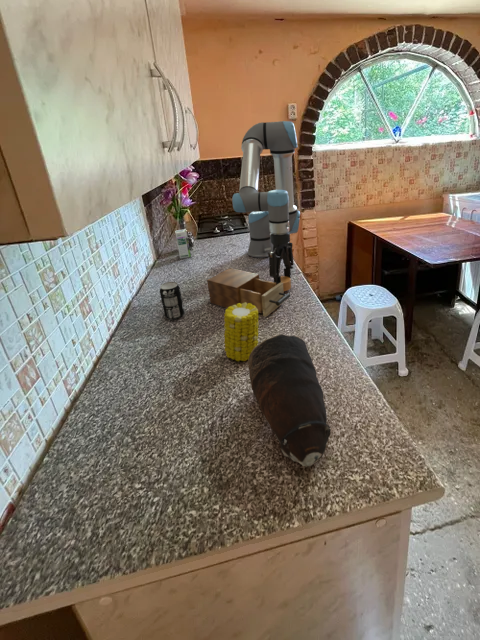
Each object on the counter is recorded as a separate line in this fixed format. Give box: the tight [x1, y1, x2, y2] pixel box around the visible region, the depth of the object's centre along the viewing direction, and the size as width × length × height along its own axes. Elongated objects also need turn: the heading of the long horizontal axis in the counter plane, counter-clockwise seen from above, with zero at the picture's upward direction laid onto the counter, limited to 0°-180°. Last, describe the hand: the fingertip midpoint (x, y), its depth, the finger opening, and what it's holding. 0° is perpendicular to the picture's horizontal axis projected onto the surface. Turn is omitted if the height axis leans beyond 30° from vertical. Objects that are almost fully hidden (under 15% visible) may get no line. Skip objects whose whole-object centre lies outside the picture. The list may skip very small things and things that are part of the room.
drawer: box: [239, 278, 291, 318], centre depth 110 cm, size 18×11×8 cm, turn 58°
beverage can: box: [159, 281, 185, 321], centre depth 108 cm, size 7×7×12 cm
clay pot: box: [247, 333, 332, 467], centre depth 64 cm, size 15×15×25 cm
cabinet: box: [206, 267, 260, 309], centre depth 117 cm, size 15×13×10 cm
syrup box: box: [174, 228, 192, 260], centre depth 166 cm, size 6×6×14 cm
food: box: [223, 302, 260, 362], centre depth 87 cm, size 15×12×10 cm
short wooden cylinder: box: [280, 275, 292, 292], centre depth 124 cm, size 6×6×4 cm
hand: (283, 286), depth 124 cm, fingers closed on short wooden cylinder, 6 cm apart
